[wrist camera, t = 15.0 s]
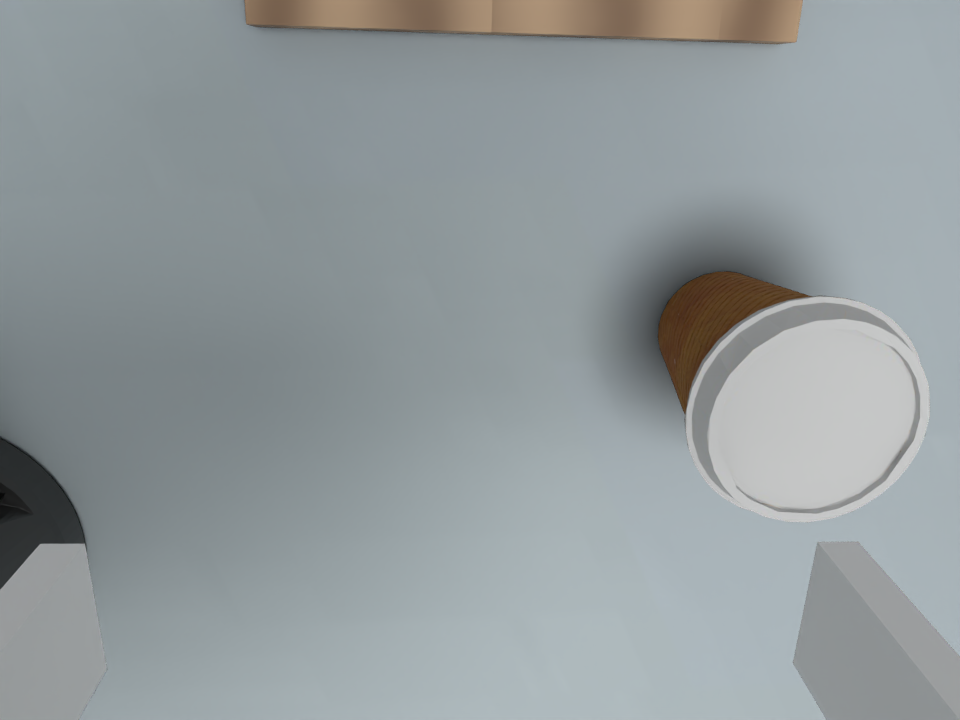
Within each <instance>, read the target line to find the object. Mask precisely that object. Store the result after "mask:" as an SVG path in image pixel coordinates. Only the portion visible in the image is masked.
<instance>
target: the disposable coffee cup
mask: <svg viewBox="0 0 960 720" xmlns="http://www.w3.org/2000/svg"><path fill="white" fill-rule="evenodd" d="M658 340H659V346H660V351H661V353H662V356H663V358H664V361H665V363H666V366H667V368H668V371H669V374H670V376H671V379H672V382H673V384H674V387H675V389H676V392H677V395H678V398H679V400H680V403H681V406H682V408H683V411H684V414H685V428H686V437H687V445H688V448H689V451H690V453H691V456H692V459H693V461H694V464H695V466H696V467H697V469H698V470H699V472H700V474H701V475H702V477H703V479H704V480H705V481H706V482H707V483H708V484H709V486H710V487H711V488H712V489H713V490H714V491H716V492H717V493H718V494H719V495H721V496H722V497H723V498H724V499H726V500H728V501H730V502H731V503H733V504H735V505H737V506H738V507H740V508H743V509H747V510H750V511H753V512H756V513H758V514H760V515H762V516H764V517H768V518H773V519H777V520H782V521H787V522H813V521H819V520H825V519H831V518H835V517H837V516H840V515H843V514H846V513H849V512H852V511H854V510H856V509H858V508H860V507H862V506H864V505H866V504H867V503H869V502H870V501H872V500H873V499H875V498H876V497H878V496H879V495H881V494H882V493H883V492H885V491H886V490H887V489H888V488H889V487H890V486H891V485H892V484H893V483H894V482H896V481H897V480H898V479H899V477H900V476H901V475H902V474H903V473H904V471H905V470H906V469H907V468H908V466H909V465H910V463H911V462H912V460H913V459H914V457H915V456H916V454H917V452H918V450H919V448H920V446H921V443H922V441H923V439H924V436H925V433H926V429H927V425H928V421H929V417H930V397H929V385H928V382H927V379H926V376H925V373H924V370H923V368H922V366H921V363H920V360H919V356H918V354H917V352H916V350H915V348H914V346H913V344H912V342H911V340H910V338H909V337H908V336H907V335H906V334H905V333H904V331H903V330H902V329H901V328H900V327H899V326H898V325H897V323H896V322H895V321H893V320H892V319H891V318H889V317H888V316H886V315H885V314H884V313H882V312H881V311H879V310H877V309H875V308H873V307H871V306H869V305H867V304H864V303H861V302H858V301H855V300H851V299H848V298H839V297H830V296H820V295H819V296H808V295H805V294H801V293H799V292H796V291H792V290H790V289H786V288H783V287H780V286H776V285H774V284H770V283H767V282H764V281H761V280H757V279H754V278H752V277H748V276H745V275H743V274H740V273H734V272H714V273H710V274H706V275H702V276H700V277H698V278H696V279H694V280H691V281H690V282H688V283H687V284H685V285H684V286H683V287H682V288H680V289H679V290H678V291H677V292H676V293H675V294H674V295H673V297H672V298H671V299H670V300H669V301H668V303H667V305H666V307H665V309H664V311H663V314H662V316H661V319H660V323H659V329H658Z"/></svg>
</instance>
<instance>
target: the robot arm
mask: <svg viewBox="0 0 960 720" xmlns="http://www.w3.org/2000/svg"><path fill="white" fill-rule="evenodd" d="M793 664H794V666H795V667H796V669H797V671H798V672H799V674H800V676H801V678H802V679H803V681H804V683H805V684H806V686H807V688H808V689H809V691H810V693H811V694H812V696H813V698H814V699H815V701H816V703H817V705H818V706H819V708H820V710H821V711H822V713H823V715H824V716H825V718H826V720H960V656H959V655H958V654H957V653H956V652H955V651H954V649H953V648H952V647H951V646H950V645H949V644H948V643H947V642H946V640H945V639H944V638H943V637H942V636H941V635H940V634H939V632H938V631H937V630H936V629H935V628H934V627H933V626H932V625H931V623H930V622H929V621H928V620H927V619H926V618H925V617H924V616H923V614H922V613H921V612H920V611H919V610H918V609H917V608H916V607H915V605H914V604H913V603H912V602H911V601H910V600H909V599H908V597H907V596H906V595H905V594H904V593H903V592H902V591H901V590H900V588H899V587H898V586H897V585H896V584H895V583H894V582H893V581H892V579H891V578H890V577H889V576H888V575H887V574H886V573H885V572H884V570H883V569H882V568H881V567H880V566H879V565H878V564H877V562H876V561H875V560H874V559H873V558H872V557H871V556H870V555H869V553H868V552H867V551H866V550H865V549H864V548H863V547H862V546H861V544H860V543H859V542H817V546H816V551H815V556H814V561H813V566H812V571H811V576H810V581H809V586H808V591H807V596H806V600H805V605H804V610H803V615H802V620H801V625H800V630H799V635H798V640H797V645H796V650H795V655H794V660H793ZM106 671H107V665H106V660H105V654H104V648H103V643H102V637H101V631H100V626H99V620H98V614H97V609H96V603H95V597H94V592H93V586H92V580H91V575H90V569H89V563H88V558H87V552H86V546H85V542H84V537H83V532H82V529H81V526H80V523H79V520H78V518H77V515H76V513H75V511H74V509H73V507H72V505H71V504H70V502H69V500H68V499H67V497H66V496H65V494H64V493H63V491H62V490H61V488H60V487H59V486H58V485H57V483H56V482H55V481H54V480H53V479H52V478H51V477H50V475H49V474H48V473H47V472H46V471H45V470H44V469H42V468H41V467H40V466H39V465H38V464H37V463H36V462H35V461H33V460H32V459H31V458H30V457H28V456H27V455H26V454H24V453H23V452H21V451H20V450H18V449H17V448H15V447H14V446H12V445H10V444H9V443H7V442H5V441H3V440H1V439H0V720H79V718H80V716H81V715H82V713H83V711H84V709H85V708H86V706H87V704H88V702H89V701H90V699H91V697H92V695H93V694H94V692H95V690H96V688H97V687H98V685H99V683H100V681H101V680H102V678H103V676H104V674H105V673H106Z"/></svg>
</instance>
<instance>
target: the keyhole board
mask: <svg viewBox="0 0 960 720" xmlns="http://www.w3.org/2000/svg"><path fill="white" fill-rule="evenodd" d="M802 2H803V0H245V13H246V24H248V25H251V26H255V27H273V28H304V29H335V30H365V31H396V32H426V33H457V34H487V35H518V36H548V37H579V38H610V39H640V40H671V41H701V42H732V43H762V44H783V43H794V42H796V41H797V34H798V28H799V22H800V15H801V9H802Z"/></svg>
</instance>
